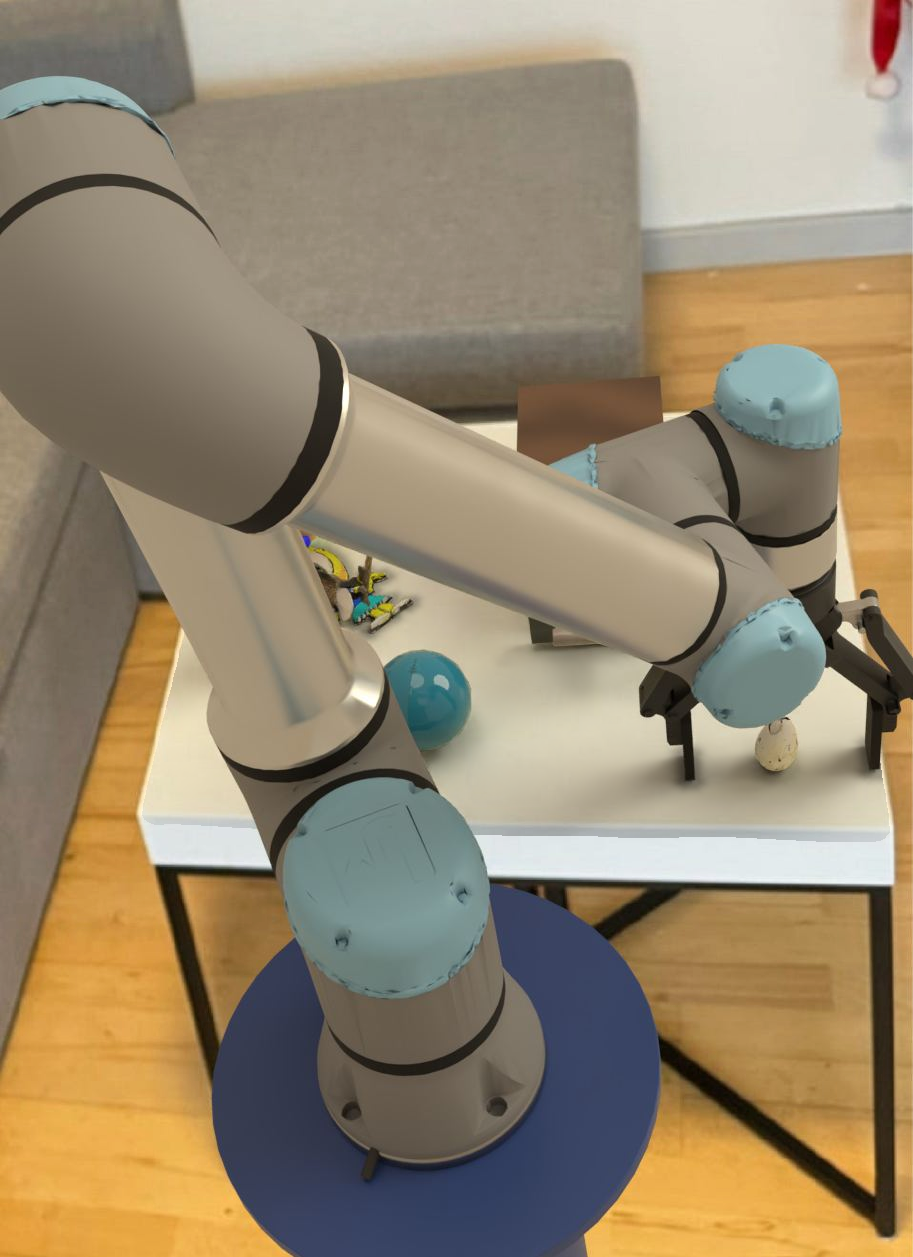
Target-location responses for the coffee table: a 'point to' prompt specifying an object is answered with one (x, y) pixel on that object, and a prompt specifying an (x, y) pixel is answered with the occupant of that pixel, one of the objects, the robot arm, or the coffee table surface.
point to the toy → (359, 607)
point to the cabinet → (584, 415)
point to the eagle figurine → (340, 593)
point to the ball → (430, 696)
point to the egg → (777, 745)
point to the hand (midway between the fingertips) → (780, 761)
